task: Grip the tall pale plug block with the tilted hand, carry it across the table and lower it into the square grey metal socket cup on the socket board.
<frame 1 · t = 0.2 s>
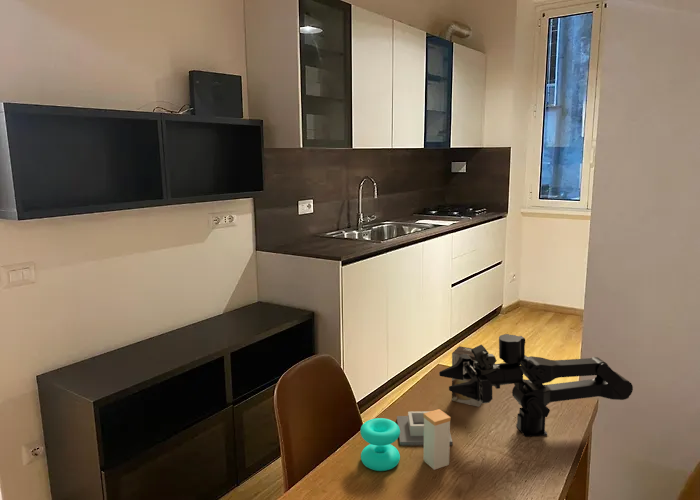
hand: (444, 381, 146), 17 cm above the table, tool horizontal, fingers open, 9 cm apart
socket: (423, 431, 153), on the table
donuts: (380, 462, 139), on the table
plug: (436, 462, 138), on the table
coffee box: (468, 400, 171), on the table
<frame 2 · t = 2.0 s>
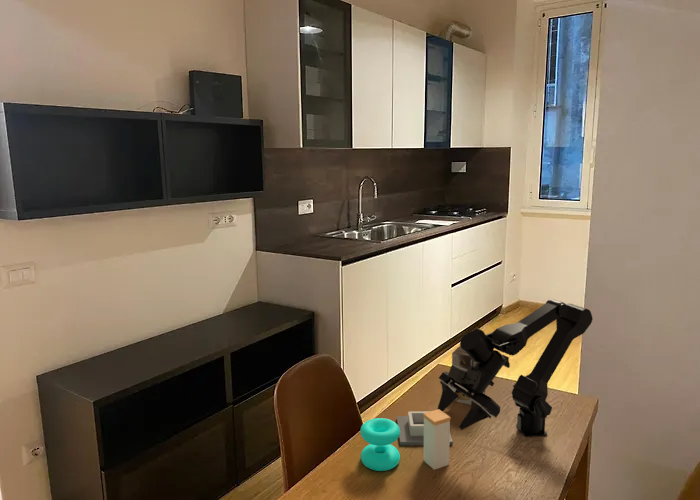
hand: (448, 420, 138), 11 cm above the table, tool tilted 45°, fingers open, 9 cm apart
nothing on the table moved.
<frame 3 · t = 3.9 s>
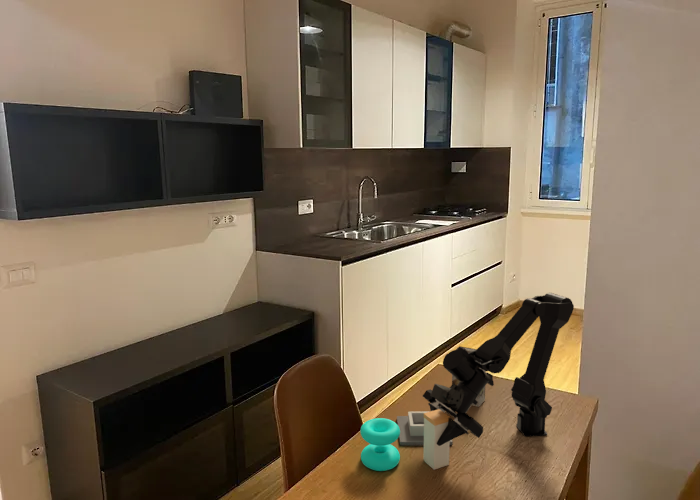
hand: (431, 440, 136), 7 cm above the table, tool tilted 45°, fingers closed on plug, 5 cm apart
plug: (436, 462, 138), on the table, touching gripper
everything else where it was.
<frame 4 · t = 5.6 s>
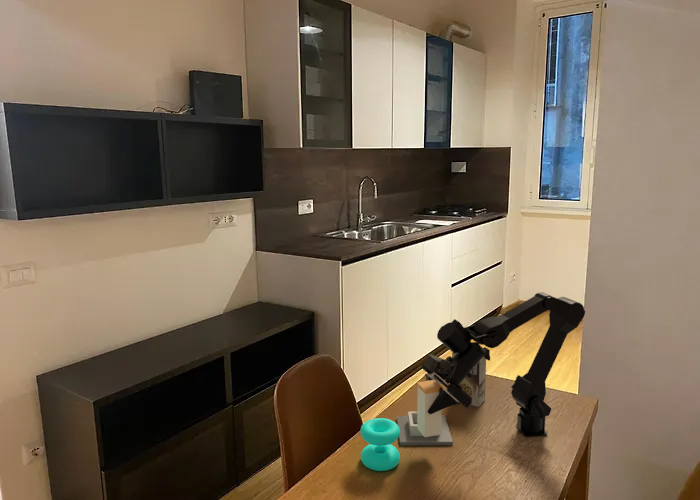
hand: (424, 408, 140), 12 cm above the table, tool tilted 45°, fingers closed on plug, 5 cm apart
plug: (429, 431, 142), point 6 cm above the table, touching gripper
everything else where it was.
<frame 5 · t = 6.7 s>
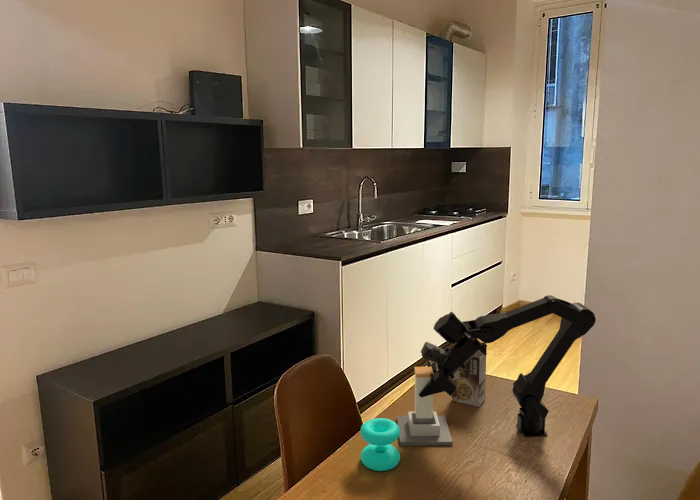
hand: (418, 392, 150), 12 cm above the table, tool tilted 45°, fingers closed on plug, 5 cm apart
plug: (423, 413, 152), point 5 cm above the table, touching gripper
everything else where it was.
when the fingers open (9 cm above the table, at t = 7.6 s): plug drops 1 cm, resting on socket.
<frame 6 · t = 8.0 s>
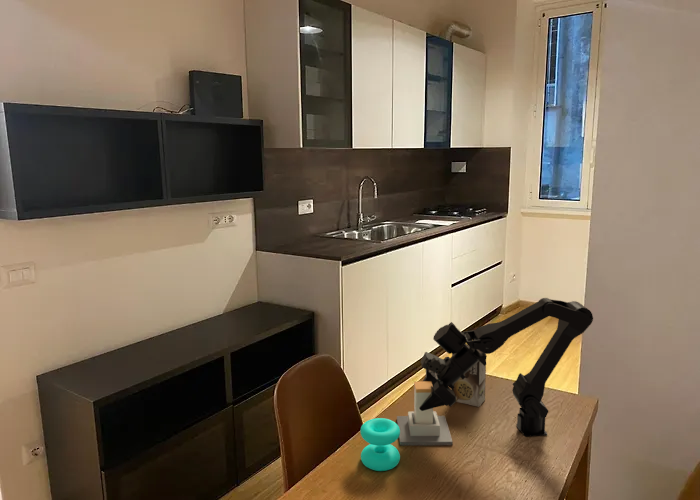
hand: (418, 401, 151), 9 cm above the table, tool tilted 45°, fingers open, 9 cm apart
plug: (423, 428, 152), point 1 cm above the table, touching socket
everything else where it was.
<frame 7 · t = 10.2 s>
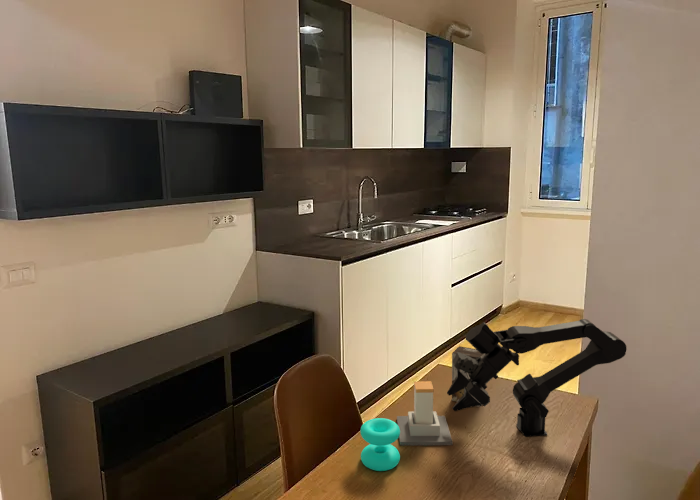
hand: (450, 401, 151), 9 cm above the table, tool tilted 45°, fingers open, 9 cm apart
nothing on the table moved.
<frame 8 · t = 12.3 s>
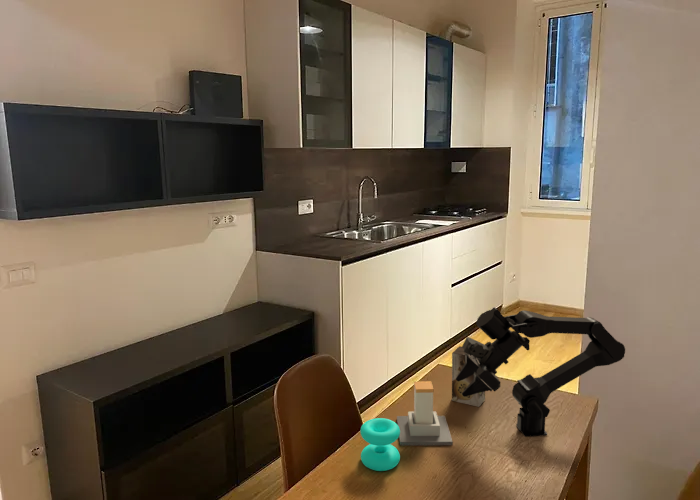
hand: (459, 387, 149), 14 cm above the table, tool tilted 45°, fingers open, 9 cm apart
nothing on the table moved.
at the end: plug 0.1 cm off-centre on the socket, point 1.0 cm above the socket's base; plug tilted 0°; the gripper is holding nothing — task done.
